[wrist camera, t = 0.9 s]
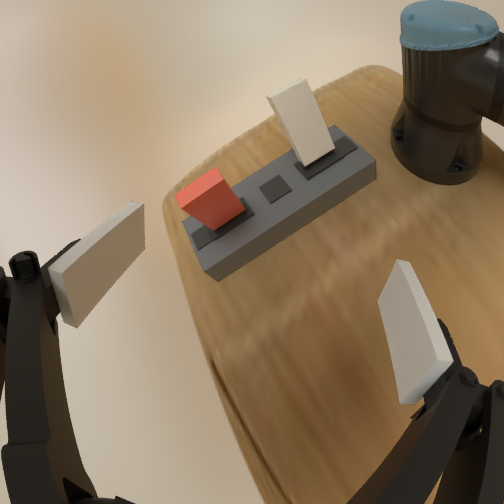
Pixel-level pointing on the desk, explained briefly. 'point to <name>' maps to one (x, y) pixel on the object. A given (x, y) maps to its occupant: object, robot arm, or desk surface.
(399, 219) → the desk surface
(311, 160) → the white rocker
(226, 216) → the red upright block
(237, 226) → the grey slotted base
